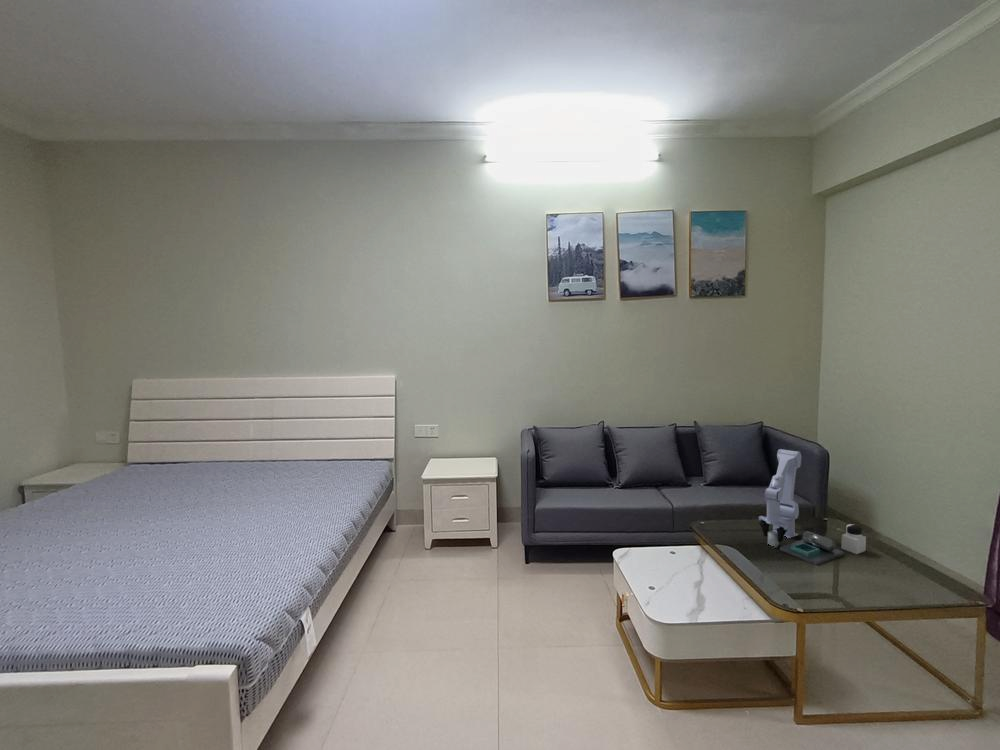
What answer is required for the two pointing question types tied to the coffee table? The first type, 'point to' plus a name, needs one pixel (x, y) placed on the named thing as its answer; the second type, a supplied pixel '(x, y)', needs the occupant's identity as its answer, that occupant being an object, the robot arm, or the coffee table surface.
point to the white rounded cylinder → (773, 538)
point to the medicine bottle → (854, 539)
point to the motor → (813, 548)
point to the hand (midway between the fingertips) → (773, 538)
